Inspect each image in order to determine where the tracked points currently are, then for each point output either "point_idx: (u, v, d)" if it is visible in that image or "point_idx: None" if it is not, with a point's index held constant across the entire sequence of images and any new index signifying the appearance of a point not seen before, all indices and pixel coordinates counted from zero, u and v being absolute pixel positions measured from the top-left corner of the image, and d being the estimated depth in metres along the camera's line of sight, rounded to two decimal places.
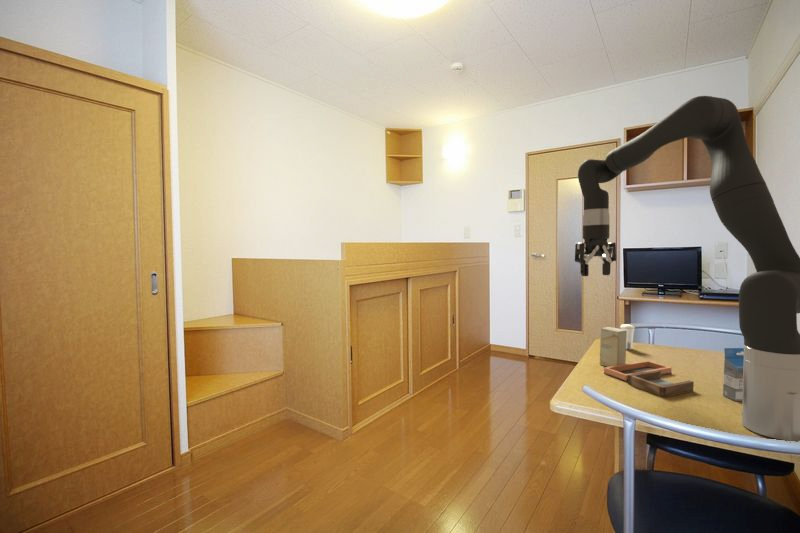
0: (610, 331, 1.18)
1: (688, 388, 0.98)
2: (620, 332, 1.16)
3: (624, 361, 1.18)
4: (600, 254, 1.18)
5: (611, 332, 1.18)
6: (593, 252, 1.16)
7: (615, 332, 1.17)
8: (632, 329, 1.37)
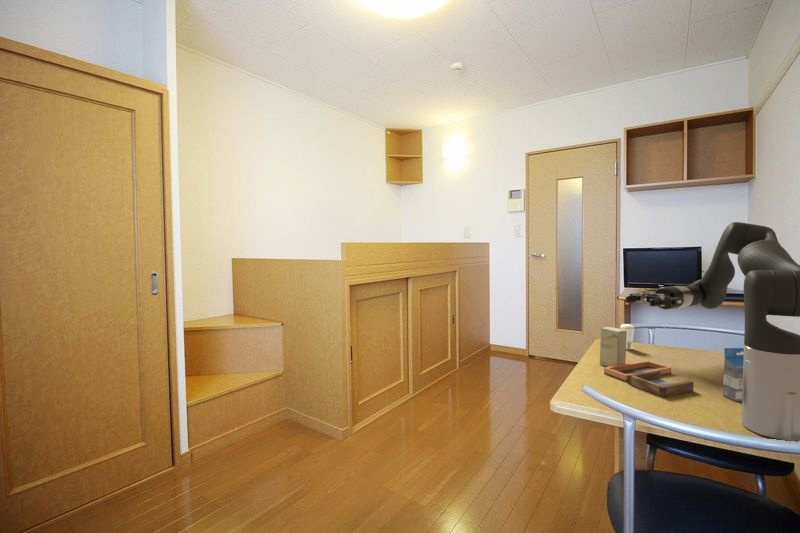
0: (610, 331, 1.18)
1: (688, 388, 0.98)
2: (620, 332, 1.16)
3: (624, 361, 1.18)
4: (655, 296, 1.24)
5: (611, 332, 1.18)
6: (647, 293, 1.27)
7: (615, 332, 1.17)
8: (632, 329, 1.37)
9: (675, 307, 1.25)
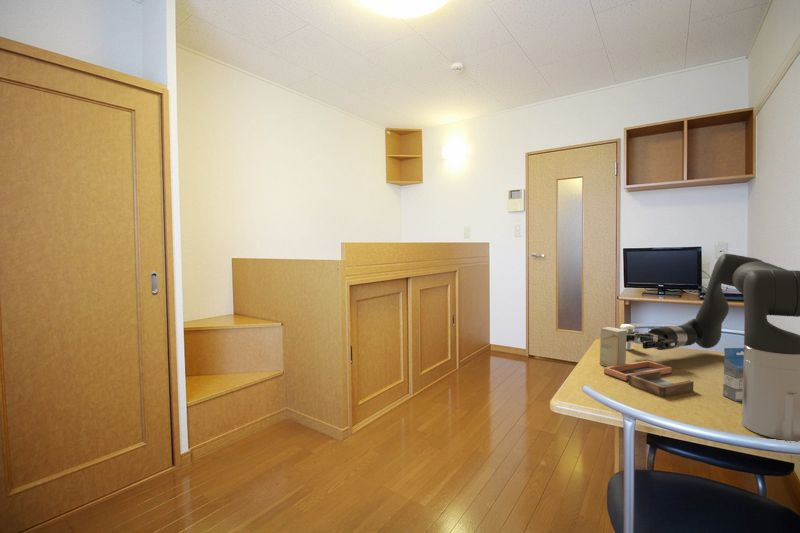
0: (610, 331, 1.18)
1: (688, 388, 0.98)
2: (620, 332, 1.16)
3: (624, 361, 1.18)
4: (649, 337, 1.23)
5: (611, 332, 1.18)
6: (640, 333, 1.27)
7: (615, 332, 1.17)
8: (632, 329, 1.37)
9: None
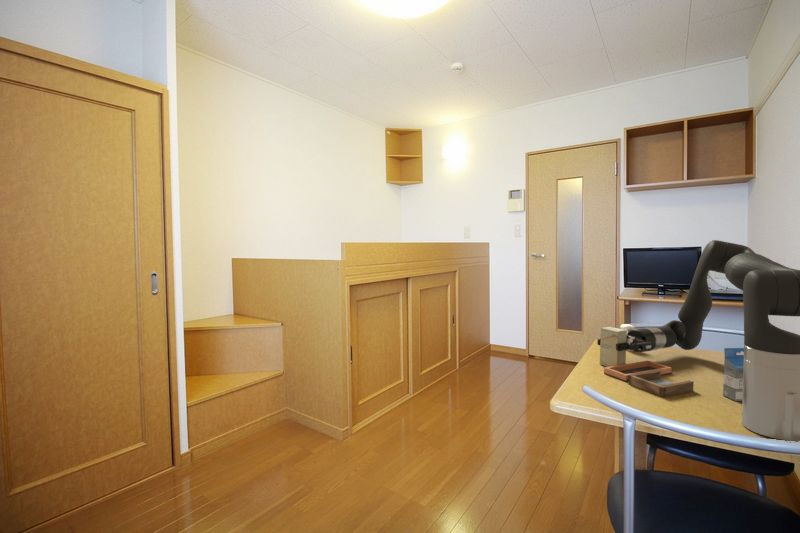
0: (610, 331, 1.18)
1: (688, 388, 0.98)
2: (620, 332, 1.16)
3: (624, 361, 1.18)
4: (626, 339, 1.21)
5: (611, 332, 1.18)
6: None
7: (615, 332, 1.17)
8: (632, 329, 1.37)
9: None
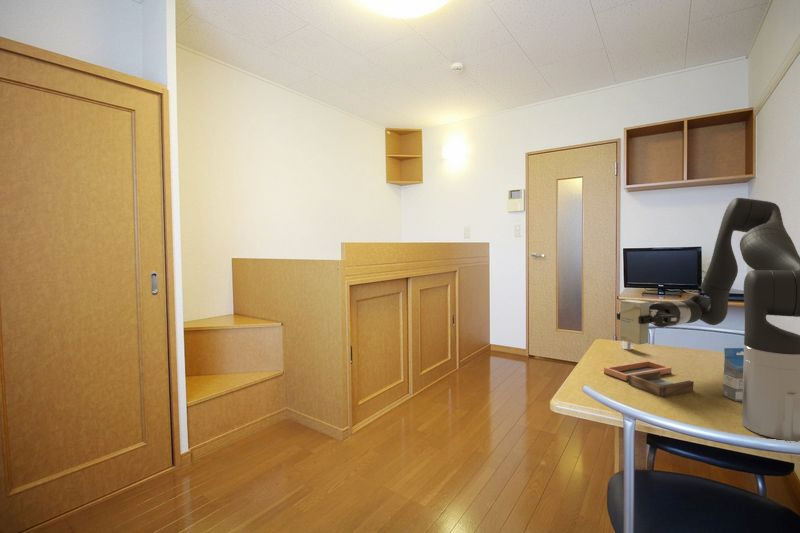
0: (631, 303, 1.08)
1: (688, 388, 0.98)
2: (642, 303, 1.07)
3: (647, 335, 1.08)
4: None
5: (632, 304, 1.08)
6: None
7: (637, 304, 1.07)
8: None
9: (671, 325, 1.12)
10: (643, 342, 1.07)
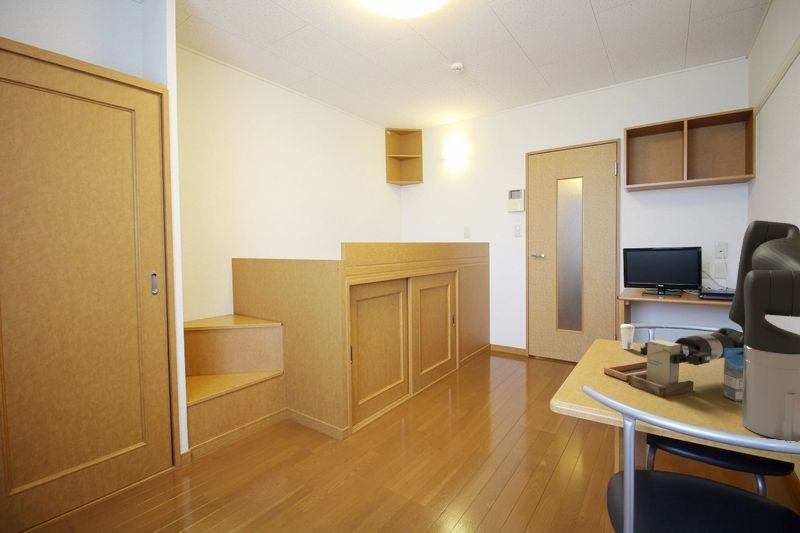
0: (660, 345, 1.00)
1: (688, 388, 0.98)
2: (672, 346, 0.98)
3: (677, 381, 1.00)
4: None
5: (661, 346, 1.00)
6: None
7: (666, 346, 0.98)
8: (632, 329, 1.37)
9: None
10: None
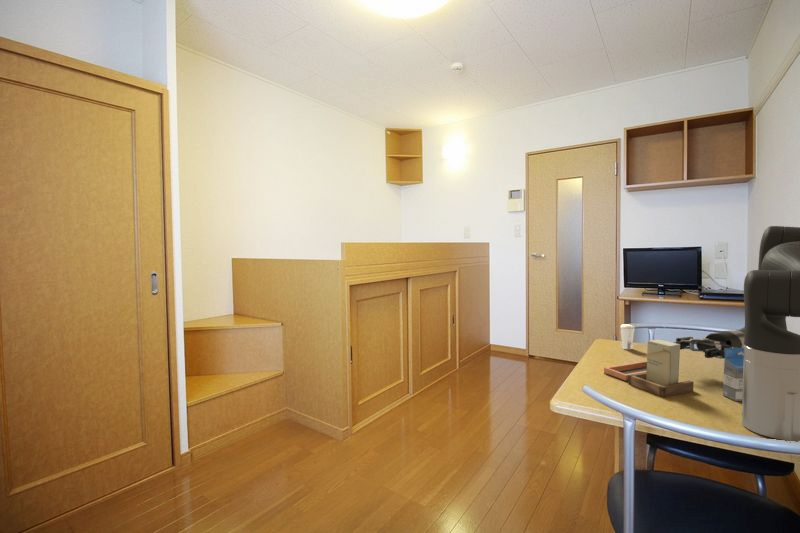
0: (660, 345, 1.00)
1: (688, 388, 0.98)
2: (672, 346, 0.98)
3: (677, 381, 1.00)
4: (709, 344, 1.06)
5: (661, 346, 1.00)
6: (697, 339, 1.10)
7: (666, 346, 0.98)
8: (632, 329, 1.37)
9: None
10: None
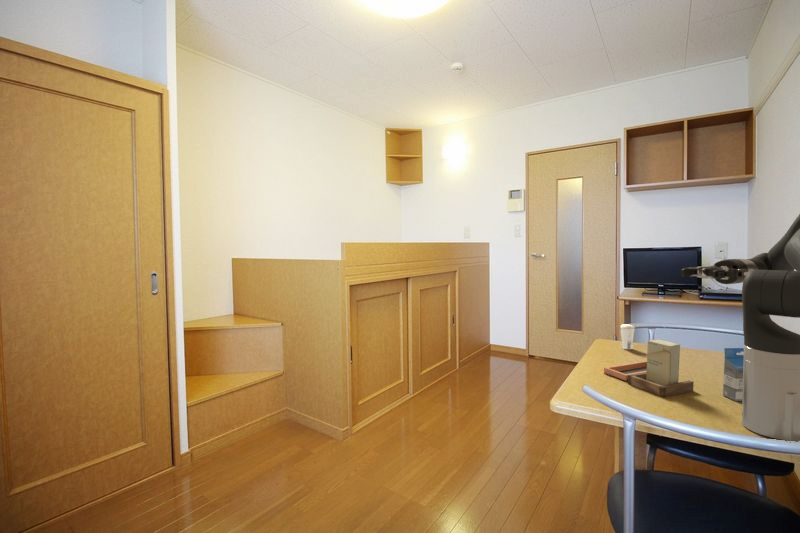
0: (660, 345, 1.00)
1: (688, 388, 0.98)
2: (672, 346, 0.98)
3: (677, 381, 1.00)
4: (716, 269, 1.10)
5: (661, 346, 1.00)
6: (705, 266, 1.14)
7: (666, 346, 0.98)
8: (632, 329, 1.37)
9: (738, 281, 1.11)
10: None
